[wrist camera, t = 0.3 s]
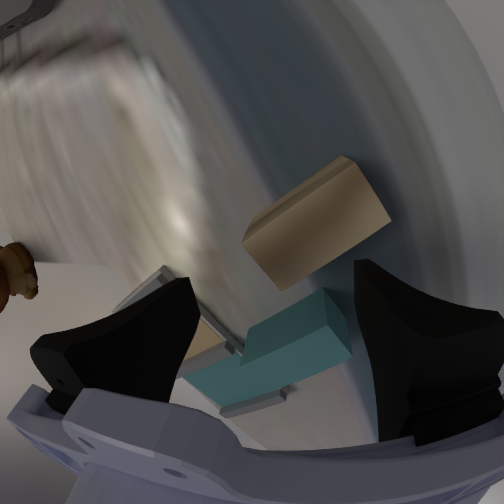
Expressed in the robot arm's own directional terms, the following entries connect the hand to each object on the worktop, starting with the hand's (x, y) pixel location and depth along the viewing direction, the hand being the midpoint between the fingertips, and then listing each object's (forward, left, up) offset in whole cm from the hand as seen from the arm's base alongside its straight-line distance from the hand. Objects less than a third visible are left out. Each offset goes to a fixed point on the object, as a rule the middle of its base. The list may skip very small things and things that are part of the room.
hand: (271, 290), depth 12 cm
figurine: (+16, +30, -10) cm, 35 cm away
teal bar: (-9, +5, -10) cm, 14 cm away
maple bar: (-1, -2, -10) cm, 10 cm away
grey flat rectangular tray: (-7, +15, -10) cm, 19 cm away
